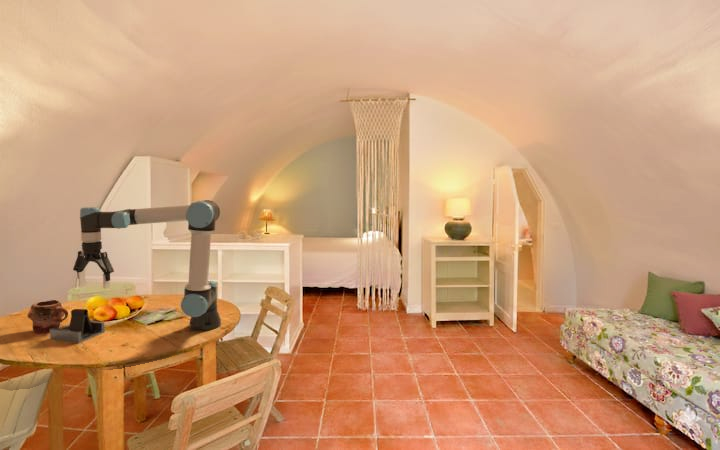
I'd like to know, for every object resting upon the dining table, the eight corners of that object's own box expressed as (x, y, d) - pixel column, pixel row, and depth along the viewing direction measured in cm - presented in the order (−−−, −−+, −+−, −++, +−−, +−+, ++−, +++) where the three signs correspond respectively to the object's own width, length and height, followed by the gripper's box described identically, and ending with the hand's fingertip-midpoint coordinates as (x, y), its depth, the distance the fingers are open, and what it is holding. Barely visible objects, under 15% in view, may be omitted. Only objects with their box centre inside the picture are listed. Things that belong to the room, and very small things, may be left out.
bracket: (104, 332, 196) (104, 322, 195) (78, 343, 182) (77, 332, 182) (77, 329, 200) (77, 319, 199) (50, 339, 186) (49, 329, 185)
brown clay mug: (79, 326, 203) (77, 299, 202) (61, 335, 191) (59, 307, 190) (40, 325, 203) (38, 298, 202) (19, 334, 191) (17, 306, 190)
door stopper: (79, 338, 186) (78, 312, 185) (67, 337, 186) (65, 312, 185) (93, 330, 195) (92, 306, 194) (81, 330, 195) (80, 306, 194)
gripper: (121, 241, 184) (123, 286, 187) (76, 238, 190) (79, 282, 192) (107, 243, 177) (110, 290, 179) (61, 241, 183) (64, 286, 185)
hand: (94, 286), depth 186 cm, fingers open, 13 cm apart
